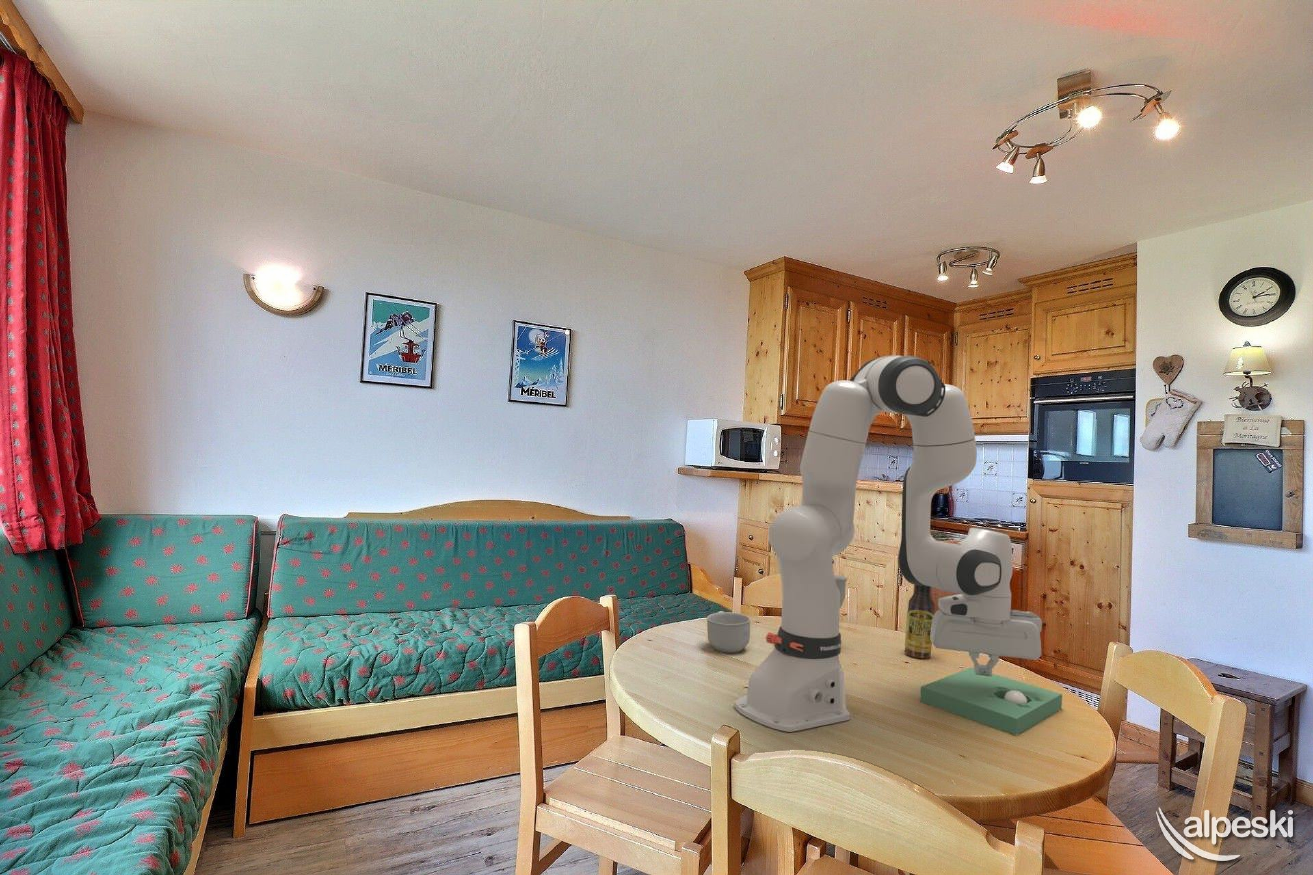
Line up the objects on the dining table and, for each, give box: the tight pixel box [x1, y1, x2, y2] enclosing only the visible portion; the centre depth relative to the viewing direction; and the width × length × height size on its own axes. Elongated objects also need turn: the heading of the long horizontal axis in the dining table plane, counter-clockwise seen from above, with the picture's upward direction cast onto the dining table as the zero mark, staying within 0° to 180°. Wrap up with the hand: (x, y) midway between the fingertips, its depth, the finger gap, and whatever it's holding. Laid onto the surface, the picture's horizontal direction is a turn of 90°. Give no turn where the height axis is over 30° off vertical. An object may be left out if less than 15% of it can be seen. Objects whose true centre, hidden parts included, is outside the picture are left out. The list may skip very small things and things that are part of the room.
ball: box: [1004, 690, 1028, 704], centre depth 121 cm, size 4×4×4 cm
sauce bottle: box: [904, 585, 935, 660], centre depth 156 cm, size 6×6×20 cm
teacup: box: [706, 610, 751, 653], centre depth 155 cm, size 14×11×8 cm
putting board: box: [919, 667, 1063, 736], centre depth 125 cm, size 22×18×3 cm
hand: (982, 674), depth 126 cm, fingers closed
